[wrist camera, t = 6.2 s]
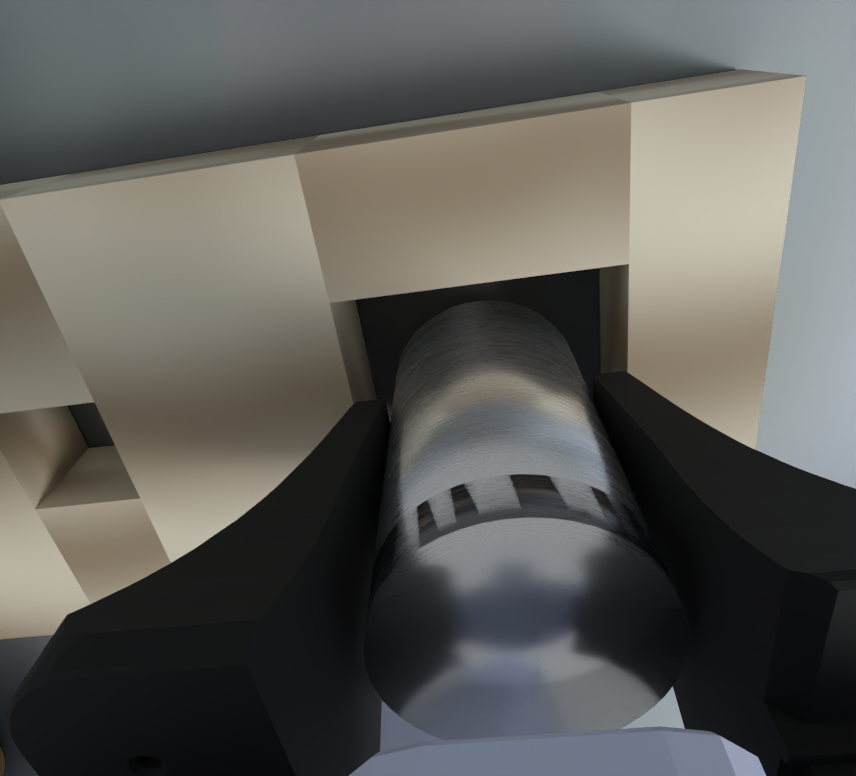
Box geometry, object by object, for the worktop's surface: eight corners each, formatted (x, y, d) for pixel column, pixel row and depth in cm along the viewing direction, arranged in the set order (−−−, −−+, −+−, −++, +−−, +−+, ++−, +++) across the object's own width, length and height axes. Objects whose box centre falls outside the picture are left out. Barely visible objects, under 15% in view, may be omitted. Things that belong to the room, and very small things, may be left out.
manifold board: (700, 508, 17) (737, 577, 15) (31, 572, 19) (-22, 641, 17) (740, 69, 12) (806, 76, 10) (-195, 215, 14) (-315, 247, 11)
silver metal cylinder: (580, 445, 15) (683, 738, 8) (413, 467, 15) (397, 763, 9) (570, 286, 13) (697, 515, 6) (379, 315, 13) (329, 558, 7)
